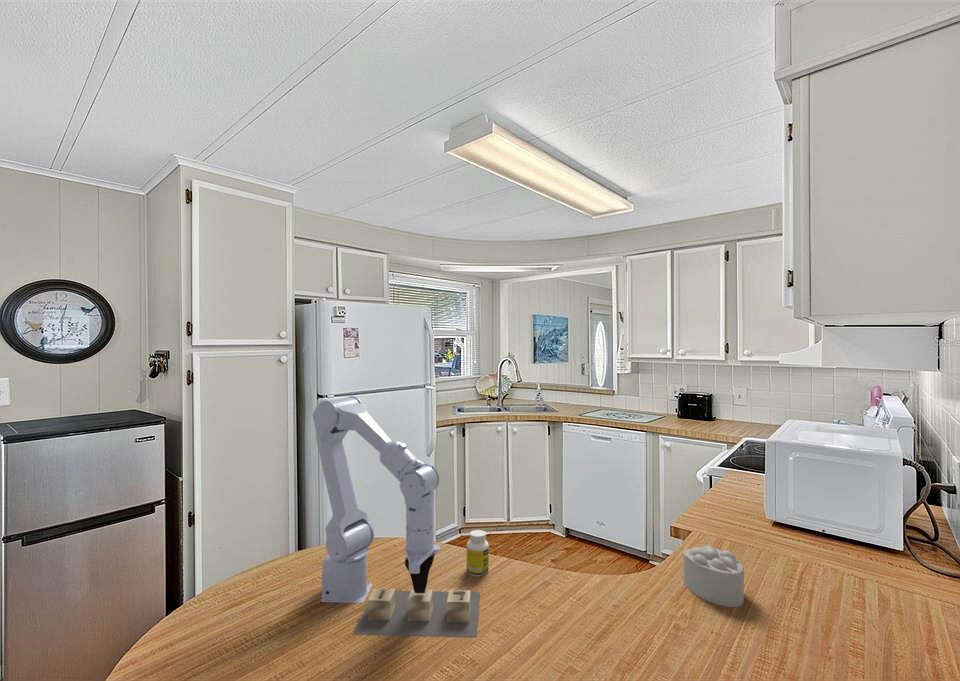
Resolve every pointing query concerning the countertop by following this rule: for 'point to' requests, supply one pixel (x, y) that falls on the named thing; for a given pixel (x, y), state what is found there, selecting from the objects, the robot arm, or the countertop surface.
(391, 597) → the numbered block left
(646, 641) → the countertop surface
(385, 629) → the charcoal mat
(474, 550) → the supplement bottle
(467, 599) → the numbered block right
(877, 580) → the countertop surface
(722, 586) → the lumpy-topped squat cylinder
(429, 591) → the plain birch block
